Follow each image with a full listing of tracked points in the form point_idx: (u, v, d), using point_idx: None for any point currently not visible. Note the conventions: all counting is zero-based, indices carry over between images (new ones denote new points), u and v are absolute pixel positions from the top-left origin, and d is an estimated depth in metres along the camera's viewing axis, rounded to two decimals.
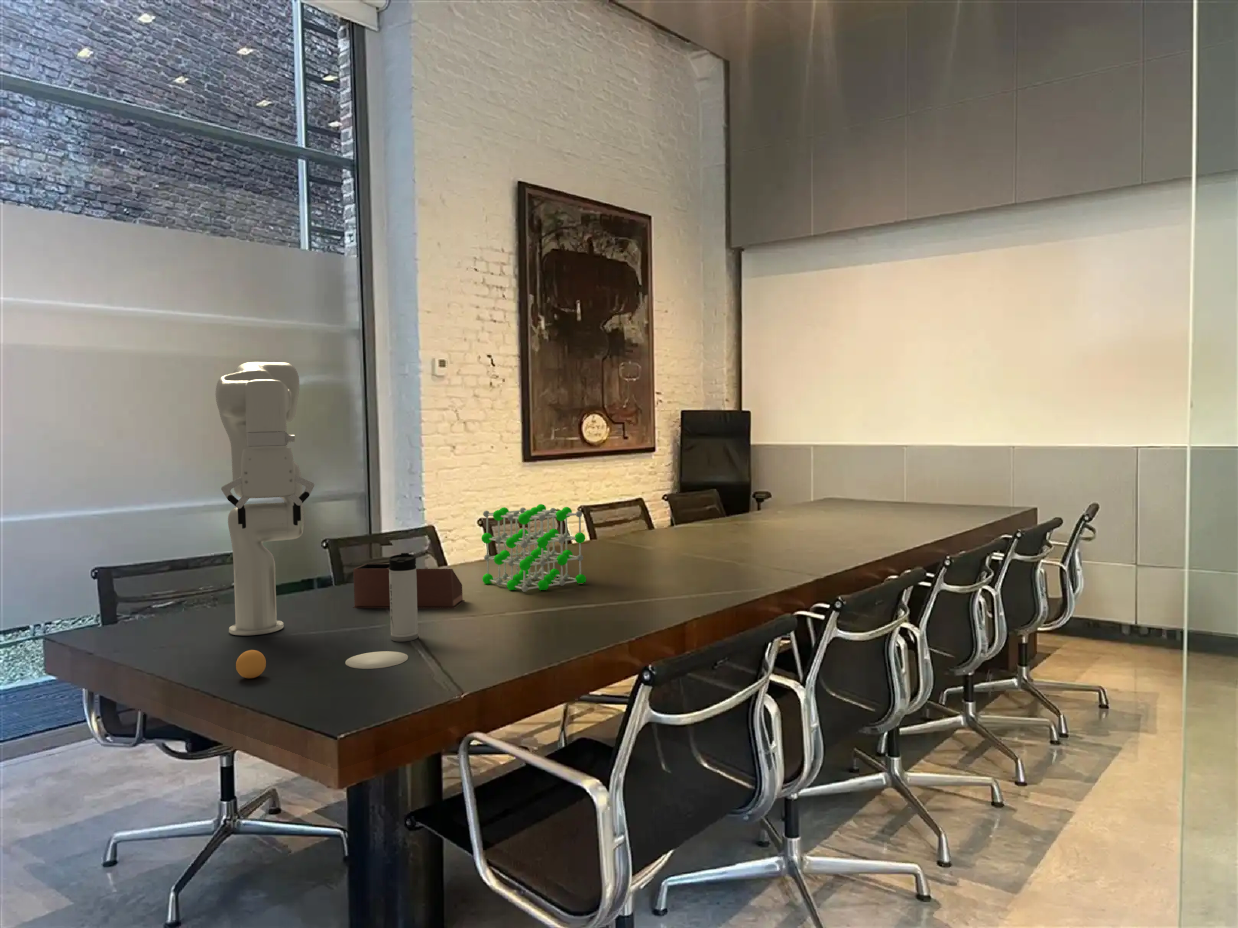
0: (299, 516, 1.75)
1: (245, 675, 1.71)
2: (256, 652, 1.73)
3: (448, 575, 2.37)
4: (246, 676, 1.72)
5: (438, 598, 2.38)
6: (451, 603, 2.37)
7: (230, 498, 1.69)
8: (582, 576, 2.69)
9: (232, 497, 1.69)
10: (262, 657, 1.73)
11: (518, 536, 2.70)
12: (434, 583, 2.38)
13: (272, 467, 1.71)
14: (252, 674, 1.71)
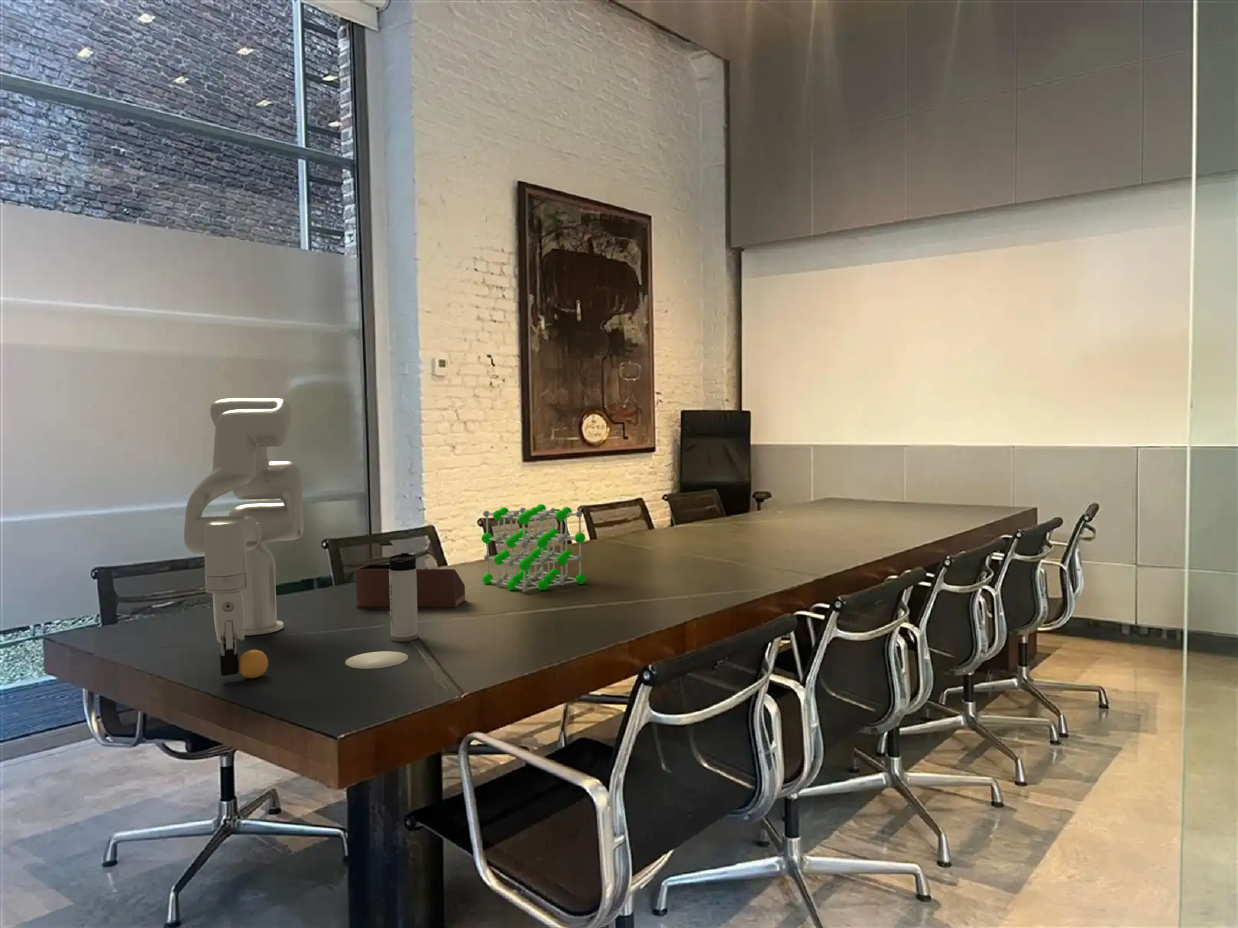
0: (225, 667, 1.70)
1: (247, 675, 1.71)
2: (258, 652, 1.73)
3: (451, 576, 2.36)
4: (248, 676, 1.72)
5: (441, 598, 2.37)
6: (454, 603, 2.37)
7: None
8: (582, 576, 2.69)
9: None
10: (264, 657, 1.73)
11: (518, 536, 2.70)
12: (437, 583, 2.37)
13: None
14: (254, 673, 1.72)
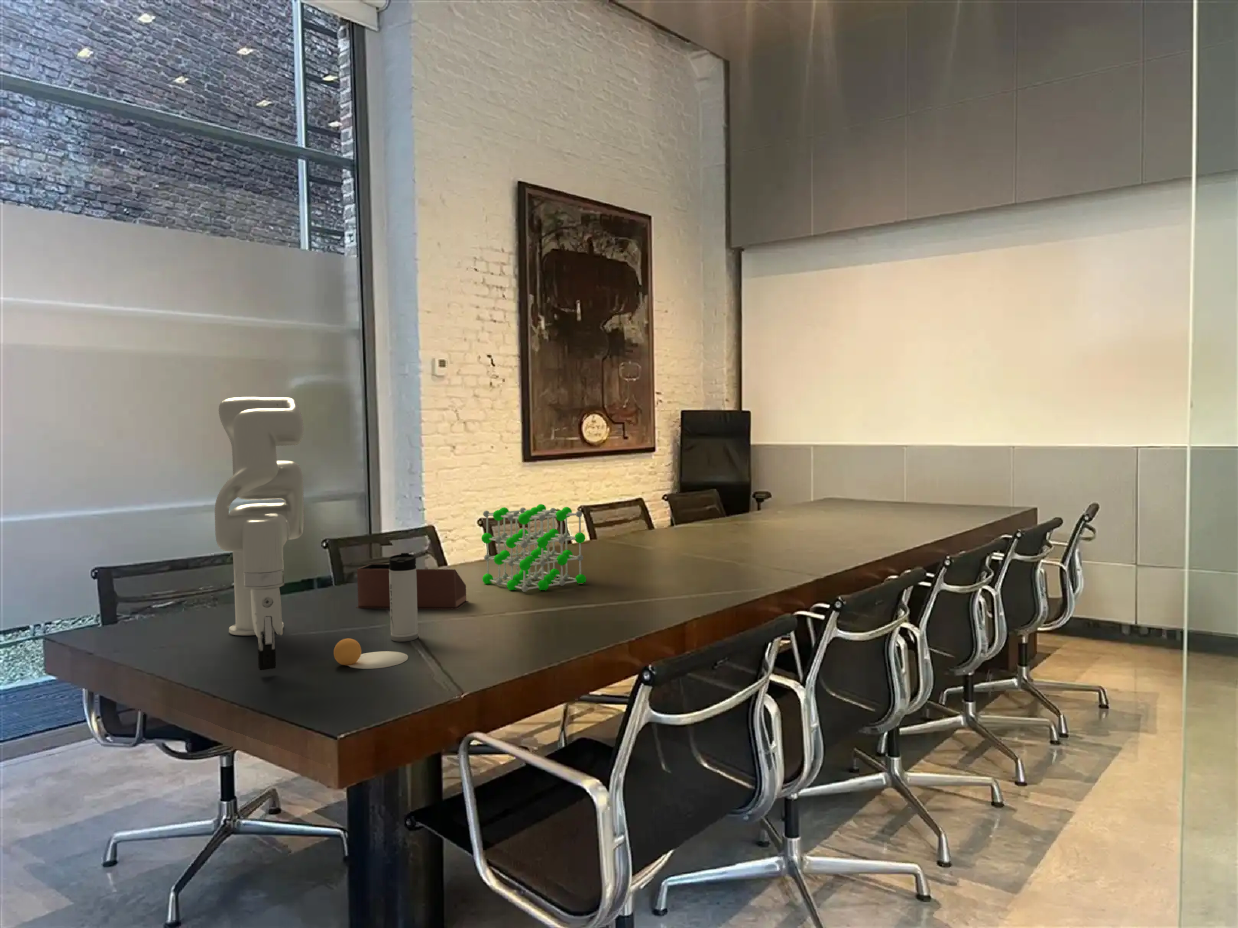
0: (263, 661, 1.73)
1: (343, 662, 1.80)
2: (354, 641, 1.81)
3: (451, 576, 2.36)
4: (343, 663, 1.80)
5: (441, 599, 2.37)
6: (454, 604, 2.36)
7: None
8: (582, 576, 2.69)
9: None
10: (359, 646, 1.82)
11: (518, 536, 2.70)
12: (437, 584, 2.37)
13: (253, 606, 1.72)
14: (350, 662, 1.80)
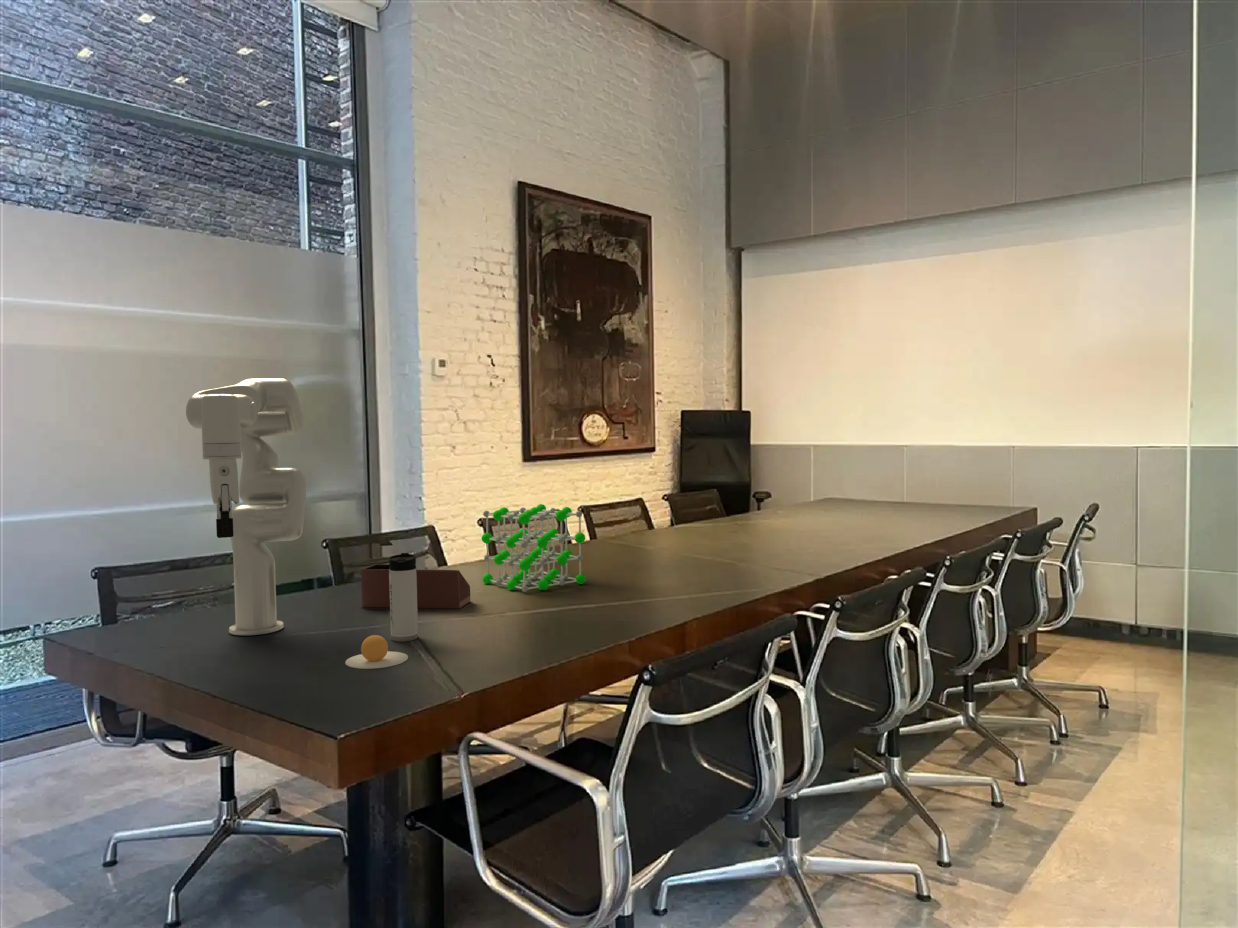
0: (221, 529, 1.83)
1: (371, 642, 1.82)
2: (382, 657, 1.84)
3: (455, 577, 2.35)
4: (369, 642, 1.82)
5: (445, 600, 2.35)
6: (458, 605, 2.35)
7: None
8: (582, 576, 2.69)
9: None
10: (376, 660, 1.83)
11: (518, 536, 2.70)
12: (441, 584, 2.35)
13: (211, 476, 1.83)
14: (369, 648, 1.82)
